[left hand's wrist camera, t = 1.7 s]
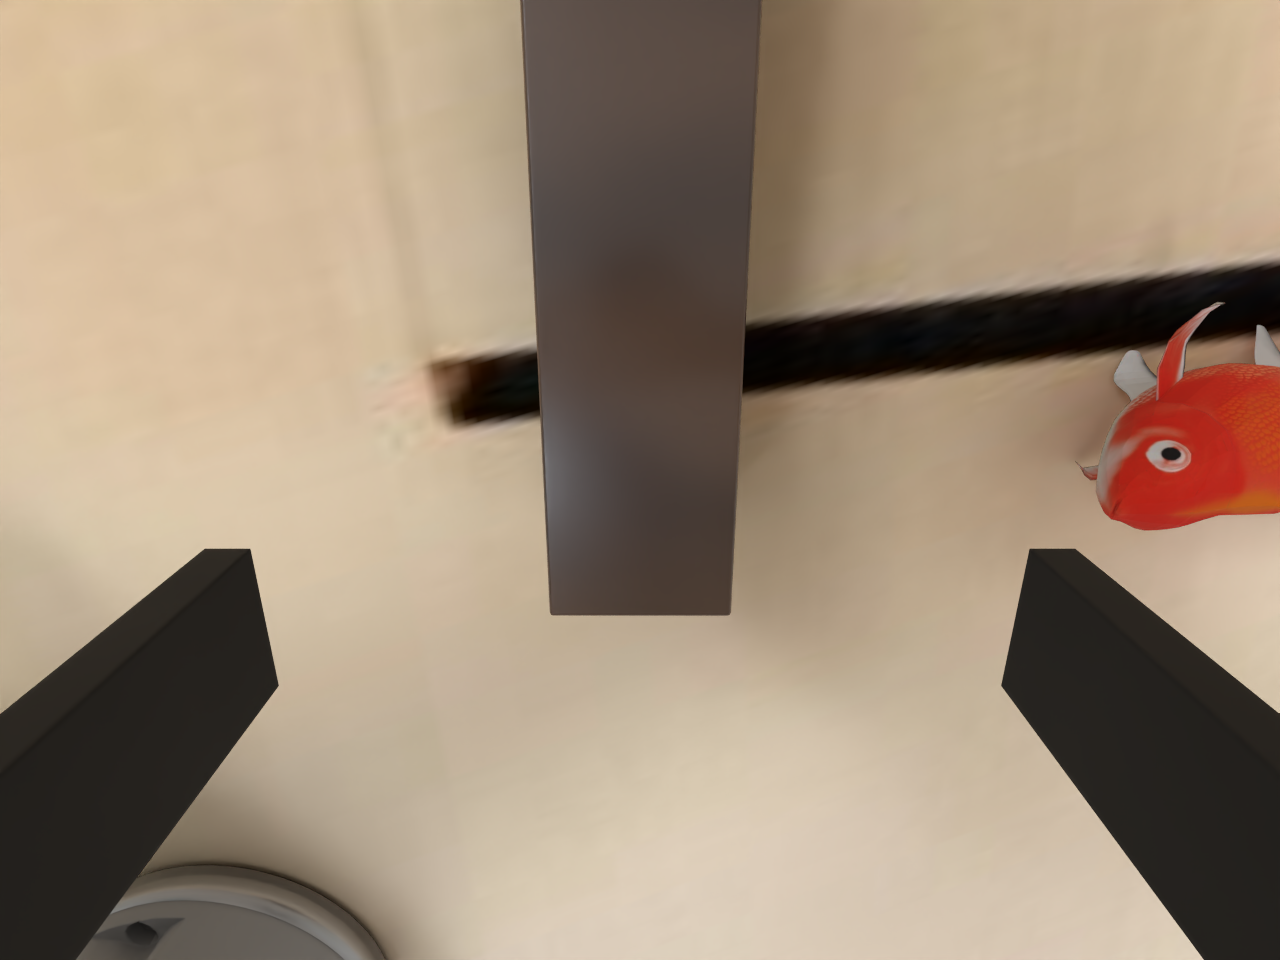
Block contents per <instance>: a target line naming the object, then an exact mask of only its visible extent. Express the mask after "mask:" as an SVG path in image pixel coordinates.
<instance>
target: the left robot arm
mask: <svg viewBox="0 0 1280 960" xmlns="http://www.w3.org/2000/svg"><path fill="white" fill-rule="evenodd" d="M278 686H279V685H278V680H277V675H276V670H275V666H274V661H273V656H272V651H271V646H270V641H269V637H268V632H267V627H266V622H265V617H264V613H263V608H262V603H261V598H260V593H259V588H258V584H257V579H256V574H255V569H254V564H253V559H252V555H251V550H250V549H204V550H203V551H202V552H200V553H199V554H198V555H197V556H195V557H194V558H193V559H192V560H190V561H189V562H188V563H187V564H185V565H184V566H183V567H182V568H181V569H179V570H178V571H177V572H176V573H174V574H173V575H172V576H171V577H169V578H168V579H167V580H166V581H164V582H163V583H162V584H161V585H160V586H158V587H157V588H156V589H155V590H153V591H152V592H151V593H150V594H148V595H147V596H146V597H145V598H143V599H142V600H141V601H140V602H138V603H137V604H136V605H135V606H134V607H132V608H131V609H130V610H129V611H127V612H126V613H125V614H124V615H122V616H121V617H120V618H119V619H117V620H116V621H115V622H114V623H112V624H111V625H110V626H109V627H108V628H106V629H105V630H104V631H103V632H101V633H100V634H99V635H98V636H96V637H95V638H94V639H93V640H91V641H90V642H89V643H88V644H86V645H85V646H84V647H83V648H82V649H80V650H79V651H78V652H77V653H75V654H74V655H73V656H72V657H70V658H69V659H68V660H67V661H65V662H64V663H63V664H62V665H61V666H59V667H58V668H57V669H56V670H54V671H53V672H52V673H51V674H49V675H48V676H47V677H46V678H44V679H43V680H42V681H41V682H39V683H38V684H37V685H36V686H35V687H33V688H32V689H31V690H30V691H28V692H27V693H26V694H25V695H23V696H22V697H21V698H20V699H18V700H17V701H16V702H15V703H13V704H12V705H11V706H10V707H9V708H7V709H6V710H5V711H4V712H2V713H1V714H0V960H385V958H384V956H383V954H382V952H381V950H380V949H379V947H378V946H377V944H376V942H375V941H374V940H373V938H372V937H371V936H370V935H369V933H368V932H367V931H366V930H365V929H364V928H363V927H362V926H361V925H360V924H359V923H358V922H357V921H356V920H355V919H354V918H353V917H352V916H350V915H349V914H348V913H347V912H346V911H344V910H343V909H342V908H340V907H339V906H338V905H336V904H335V903H333V902H332V901H330V900H328V899H327V898H325V897H324V896H322V895H320V894H318V893H316V892H314V891H312V890H310V889H308V888H306V887H304V886H302V885H299V884H297V883H295V882H292V881H289V880H287V879H284V878H281V877H278V876H275V875H271V874H267V873H264V872H260V871H255V870H250V869H245V868H238V867H230V866H216V865H194V866H183V867H175V868H169V869H164V870H160V871H156V872H152V873H149V874H146V875H143V876H141V877H138V875H139V874H140V873H141V871H142V870H143V868H144V867H145V866H146V864H147V863H148V862H149V860H150V859H151V858H152V856H153V855H154V854H155V852H156V851H157V850H158V848H159V847H160V845H161V844H162V843H163V841H164V840H165V839H166V837H167V836H168V835H169V833H170V832H171V831H172V829H173V828H174V827H175V825H176V824H177V823H178V821H179V820H180V818H181V817H182V816H183V814H184V813H185V812H186V810H187V809H188V808H189V806H190V805H191V804H192V802H193V801H194V800H195V798H196V797H197V795H198V794H199V793H200V791H201V790H202V789H203V787H204V786H205V785H206V783H207V782H208V781H209V779H210V778H211V777H212V775H213V774H214V772H215V771H216V770H217V768H218V767H219V766H220V764H221V763H222V762H223V760H224V759H225V758H226V756H227V755H228V754H229V752H230V751H231V749H232V748H233V747H234V745H235V744H236V743H237V741H238V740H239V739H240V737H241V736H242V735H243V733H244V732H245V731H246V729H247V728H248V727H249V725H250V724H251V722H252V721H253V720H254V718H255V717H256V716H257V714H258V713H259V712H260V710H261V709H262V708H263V706H264V705H265V704H266V702H267V701H268V699H269V698H270V697H271V695H272V694H273V693H274V691H275V690H276V689H277V687H278ZM1001 686H1002V687H1003V689H1004V690H1005V691H1006V693H1007V694H1008V695H1009V697H1010V698H1011V699H1012V701H1013V702H1014V704H1015V705H1016V706H1017V708H1018V709H1019V710H1020V712H1021V713H1022V714H1023V716H1024V717H1025V718H1026V720H1027V721H1028V722H1029V724H1030V725H1031V727H1032V728H1033V729H1034V731H1035V732H1036V733H1037V735H1038V736H1039V737H1040V739H1041V740H1042V741H1043V743H1044V744H1045V745H1046V747H1047V748H1048V749H1049V751H1050V752H1051V754H1052V755H1053V756H1054V758H1055V759H1056V760H1057V762H1058V763H1059V764H1060V766H1061V767H1062V768H1063V770H1064V771H1065V772H1066V774H1067V775H1068V777H1069V778H1070V779H1071V781H1072V782H1073V783H1074V785H1075V786H1076V787H1077V789H1078V790H1079V791H1080V793H1081V794H1082V795H1083V797H1084V798H1085V800H1086V801H1087V802H1088V804H1089V805H1090V806H1091V808H1092V809H1093V810H1094V812H1095V813H1096V814H1097V816H1098V817H1099V818H1100V820H1101V821H1102V823H1103V824H1104V825H1105V827H1106V828H1107V829H1108V831H1109V832H1110V833H1111V835H1112V836H1113V837H1114V839H1115V840H1116V841H1117V843H1118V844H1119V845H1120V847H1121V848H1122V850H1123V851H1124V852H1125V854H1126V855H1127V856H1128V858H1129V859H1130V860H1131V862H1132V863H1133V864H1134V866H1135V867H1136V868H1137V870H1138V871H1139V873H1140V874H1141V875H1142V877H1143V878H1144V879H1145V881H1146V882H1147V883H1148V885H1149V886H1150V887H1151V889H1152V890H1153V891H1154V893H1155V894H1156V896H1157V897H1158V898H1159V900H1160V901H1161V902H1162V904H1163V905H1164V906H1165V908H1166V909H1167V910H1168V912H1169V913H1170V914H1171V916H1172V917H1173V919H1174V920H1175V921H1176V923H1177V924H1178V925H1179V927H1180V928H1181V929H1182V931H1183V932H1184V933H1185V935H1186V936H1187V937H1188V939H1189V940H1190V941H1191V943H1192V944H1193V946H1194V947H1195V948H1196V950H1197V951H1198V952H1199V954H1200V955H1201V956H1202V958H1203V959H1204V960H1280V713H1278V712H1276V711H1275V710H1274V709H1273V708H1271V707H1270V706H1269V705H1268V704H1267V703H1265V702H1264V701H1263V700H1262V699H1260V698H1259V697H1258V696H1257V695H1255V694H1254V693H1253V692H1252V691H1250V690H1249V689H1248V688H1247V687H1245V686H1244V685H1243V684H1242V683H1241V682H1239V681H1238V680H1237V679H1236V678H1234V677H1233V676H1232V675H1231V674H1229V673H1228V672H1227V671H1226V670H1224V669H1223V668H1222V667H1221V666H1219V665H1218V664H1217V663H1216V662H1215V661H1213V660H1212V659H1211V658H1210V657H1208V656H1207V655H1206V654H1205V653H1203V652H1202V651H1201V650H1200V649H1198V648H1197V647H1196V646H1195V645H1194V644H1192V643H1191V642H1190V641H1189V640H1187V639H1186V638H1185V637H1184V636H1182V635H1181V634H1180V633H1179V632H1177V631H1176V630H1175V629H1174V628H1172V627H1171V626H1170V625H1169V624H1168V623H1166V622H1165V621H1164V620H1163V619H1161V618H1160V617H1159V616H1158V615H1156V614H1155V613H1154V612H1153V611H1151V610H1150V609H1149V608H1148V607H1146V606H1145V605H1144V604H1143V603H1142V602H1140V601H1139V600H1138V599H1137V598H1135V597H1134V596H1133V595H1132V594H1130V593H1129V592H1128V591H1127V590H1125V589H1124V588H1123V587H1122V586H1120V585H1119V584H1118V583H1117V582H1116V581H1114V580H1113V579H1112V578H1111V577H1109V576H1108V575H1107V574H1106V573H1104V572H1103V571H1102V570H1101V569H1099V568H1098V567H1097V566H1096V565H1095V564H1093V563H1092V562H1091V561H1090V560H1088V559H1087V558H1086V557H1085V556H1083V555H1082V554H1081V553H1080V552H1078V551H1077V550H1076V549H1030V550H1029V555H1028V559H1027V564H1026V569H1025V574H1024V579H1023V584H1022V588H1021V593H1020V598H1019V603H1018V608H1017V613H1016V617H1015V622H1014V627H1013V632H1012V637H1011V641H1010V646H1009V651H1008V656H1007V661H1006V666H1005V670H1004V675H1003V680H1002V685H1001ZM137 877H138V878H137Z"/></svg>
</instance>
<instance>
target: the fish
mask: <svg viewBox="0 0 1280 960" xmlns="http://www.w3.org/2000/svg"><path fill="white" fill-rule="evenodd" d="M1220 305H1224V303H1223V302H1217V303H1215V304H1213V305H1211V306H1210V307H1208V308H1205V309H1202V310H1201V311H1200V312H1199V313H1198V314H1196V315H1195V316H1194V317H1193V318H1192V319H1191V320H1189V321H1188V322H1187V323H1185V324H1184V325H1183V326H1182V327H1180V328H1179V329H1178V330H1177V331H1176V332H1175V334H1174V335H1173V336H1172V337H1171V339H1170V340H1169V341H1168V344H1167V347H1166V350H1165V352H1164V355H1163V357H1162V359H1161V362H1160V364H1159V366H1158V368H1157V377H1156V376H1155V375H1154V374H1153V373H1152V372H1151V371H1150V369H1149V368H1148V367H1147V365H1146V363H1145V362H1144V360H1143V358H1142V356H1141V354H1140V352H1138V351H1135V350H1132V351H1128V352H1127V353H1126V354H1125V355H1124V357H1123V358H1122V360H1121V362H1120V364H1119V366H1118V368H1117V370H1116V372H1115V374H1114V382H1115V383H1116V385H1117V386H1118V387H1119V388H1121V389H1122V390H1123V391H1125V392H1126V393H1127V394H1128V396H1129V397H1130V400H1131V402H1130V403H1129V404H1128V405H1127V406H1126V407H1125V408H1124V409H1123V410H1122V411H1121V412H1120V414H1119V415H1118V416H1117V418H1116V419H1115V420H1114V422H1113V424H1112V426H1111V428H1110V430H1109V432H1108V435H1107V438H1106V441H1105V444H1104V447H1103V450H1102V453H1101V457H1100V462H1099V466H1092V467H1086V468H1082V467H1081V466H1080V465H1079V464H1078V463H1077V462H1076V461H1075V462H1076V463H1077V464H1078V466H1079V467H1080V468H1081V469H1082V471H1083V473H1084V475H1085V476H1086V477H1087V478H1089V479H1090V480H1097V484H1096V493H1097V497H1098V500H1099V502H1100V505H1101V507H1102V509H1103V511H1104V513H1105V514H1106V515H1107V516H1109V517H1110V518H1111V519H1113V520H1117V521H1121V522H1123V523H1125V524H1127V525H1129V526H1131V527H1133V528H1136V529H1140V530H1162V529H1170V528H1177V527H1181V526H1185V525H1188V524H1191V523H1194V522H1197V521H1200V520H1203V519H1207V518H1211V517H1214V516H1218V515H1247V514H1274V513H1279V512H1280V352H1279V350H1278V349H1277V347H1276V346H1275V344H1274V342H1273V341H1272V339H1271V337H1270V335H1269V334H1268V332H1267V330H1266V329H1265V327H1264V326H1261V325H1257V332H1256V342H1255V363H1256V365H1255V364H1240V363H1228V364H1221V365H1215V366H1210V367H1204V368H1199V369H1194V370H1190V371H1187V372H1184V368H1185V354H1186V346H1187V343H1188V341H1189V339H1190V337H1191V336H1192V334H1193V333H1194V331H1195V330H1196V329H1197V327H1198V326H1199V325H1200V323H1201V322H1202V321H1203V320H1204V318H1205V317H1206V316H1207V315H1208V313H1209V312H1210V311H1212V310H1213V309H1215V308H1217V307H1218V306H1220Z"/></svg>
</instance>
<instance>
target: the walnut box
mask: <svg viewBox="0 0 1280 960" xmlns="http://www.w3.org/2000/svg"><path fill="white" fill-rule="evenodd" d="M520 6H521V27H522V47H523V68H524V88H525V109H526V130H527V150H528V171H529V191H530V212H531V233H532V253H533V274H534V294H535V315H536V335H537V356H538V377H539V397H540V418H541V438H542V459H543V479H544V500H545V521H546V541H547V562H548V582H549V603H550V613H551V615H730V613H731V599H732V579H733V560H734V540H735V521H736V501H737V481H738V462H739V442H740V423H741V403H742V384H743V364H744V344H745V325H746V305H747V286H748V266H749V246H750V227H751V207H752V188H753V168H754V148H755V129H756V109H757V90H758V70H759V50H760V31H761V11H762V0H520Z"/></svg>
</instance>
